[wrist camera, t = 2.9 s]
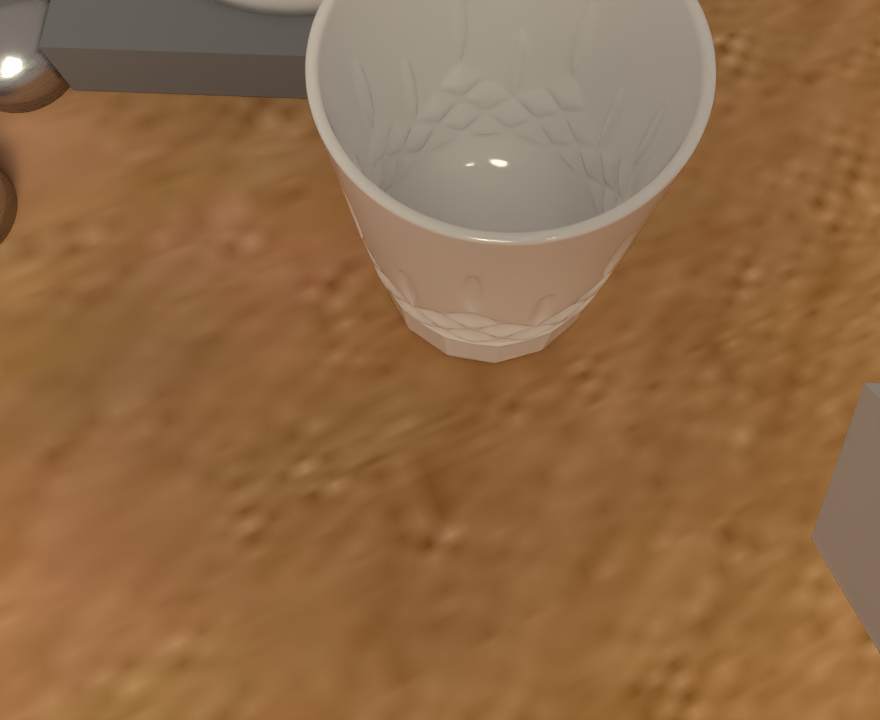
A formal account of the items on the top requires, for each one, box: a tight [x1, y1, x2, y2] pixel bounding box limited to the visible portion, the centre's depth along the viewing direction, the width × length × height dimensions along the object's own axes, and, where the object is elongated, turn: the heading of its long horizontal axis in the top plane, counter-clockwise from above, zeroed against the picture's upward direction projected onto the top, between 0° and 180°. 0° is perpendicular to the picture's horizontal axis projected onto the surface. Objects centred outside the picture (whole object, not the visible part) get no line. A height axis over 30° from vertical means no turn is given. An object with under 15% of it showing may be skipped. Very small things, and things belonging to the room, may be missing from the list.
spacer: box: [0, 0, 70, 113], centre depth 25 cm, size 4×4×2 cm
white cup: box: [305, 0, 716, 363], centre depth 19 cm, size 8×8×10 cm
